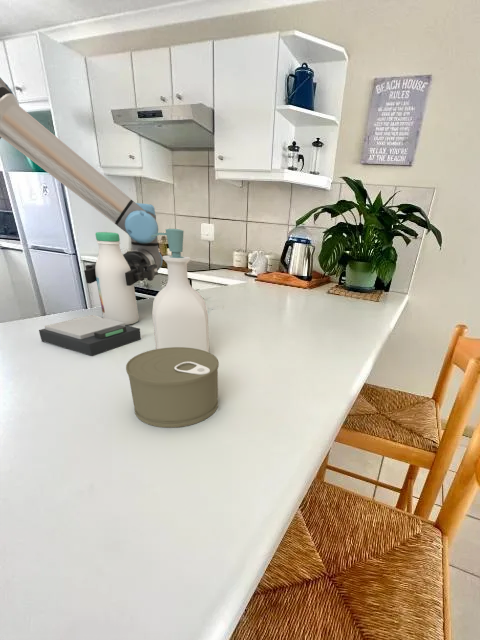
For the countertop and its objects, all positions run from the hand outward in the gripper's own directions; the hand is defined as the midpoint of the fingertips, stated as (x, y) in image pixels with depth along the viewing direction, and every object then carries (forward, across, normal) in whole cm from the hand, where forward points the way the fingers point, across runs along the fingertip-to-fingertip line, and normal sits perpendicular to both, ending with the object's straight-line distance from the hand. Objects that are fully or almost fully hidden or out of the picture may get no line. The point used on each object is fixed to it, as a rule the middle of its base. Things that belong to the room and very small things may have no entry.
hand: (107, 278), depth 71 cm
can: (+36, -20, -11) cm, 43 cm away
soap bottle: (+16, -18, -11) cm, 27 cm away
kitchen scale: (+9, +1, -11) cm, 15 cm away
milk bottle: (-4, 0, -11) cm, 12 cm away
